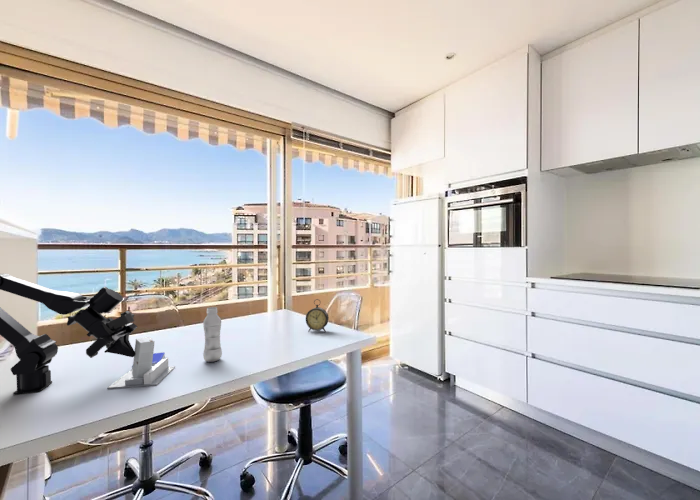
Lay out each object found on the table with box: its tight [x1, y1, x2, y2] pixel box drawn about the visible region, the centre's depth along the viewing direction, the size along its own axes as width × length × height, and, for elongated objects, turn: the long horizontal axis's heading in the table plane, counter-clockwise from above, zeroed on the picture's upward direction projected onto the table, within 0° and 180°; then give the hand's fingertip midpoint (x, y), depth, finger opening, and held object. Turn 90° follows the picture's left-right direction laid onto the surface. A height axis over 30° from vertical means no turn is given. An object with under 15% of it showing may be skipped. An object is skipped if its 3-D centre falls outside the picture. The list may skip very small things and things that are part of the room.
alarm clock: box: [305, 298, 329, 333], centre depth 154 cm, size 11×5×16 cm, turn 81°
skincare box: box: [132, 336, 155, 378], centre depth 102 cm, size 6×4×12 cm
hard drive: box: [131, 351, 166, 370], centre depth 114 cm, size 2×8×12 cm
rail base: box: [107, 357, 176, 390], centre depth 102 cm, size 14×14×4 cm
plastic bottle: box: [202, 306, 223, 363], centre depth 116 cm, size 6×7×20 cm
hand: (134, 355), depth 101 cm, fingers closed
